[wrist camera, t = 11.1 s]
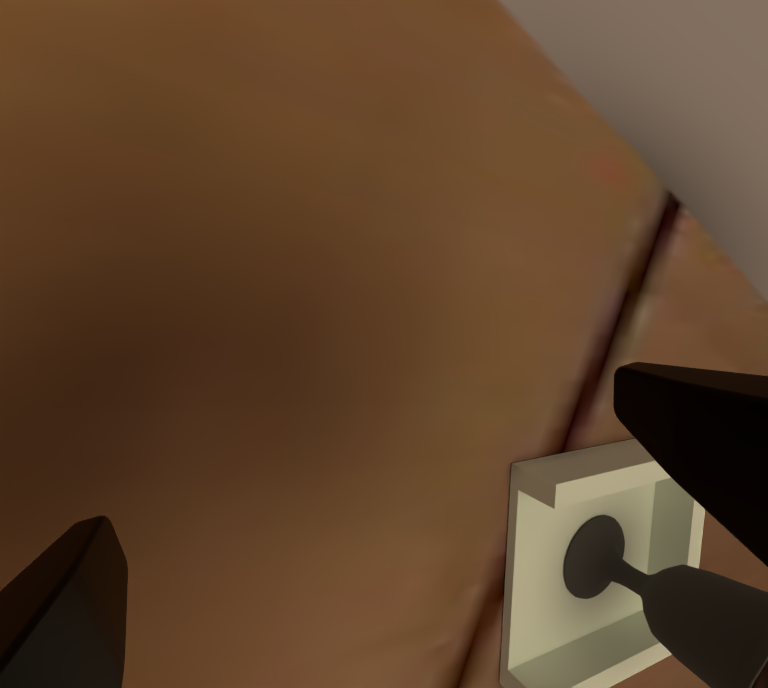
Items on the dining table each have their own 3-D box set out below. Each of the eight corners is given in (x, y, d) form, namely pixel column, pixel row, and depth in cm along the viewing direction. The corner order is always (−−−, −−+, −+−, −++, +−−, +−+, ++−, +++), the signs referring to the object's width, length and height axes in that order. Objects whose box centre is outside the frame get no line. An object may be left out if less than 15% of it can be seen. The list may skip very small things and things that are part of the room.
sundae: (646, 538, 33) (1016, 720, 20) (586, 631, 31) (947, 898, 18) (602, 476, 30) (999, 640, 17) (533, 575, 28) (915, 843, 15)
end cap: (499, 682, 29) (539, 724, 26) (511, 463, 27) (556, 484, 24) (645, 615, 35) (690, 644, 32) (663, 432, 33) (711, 447, 30)
